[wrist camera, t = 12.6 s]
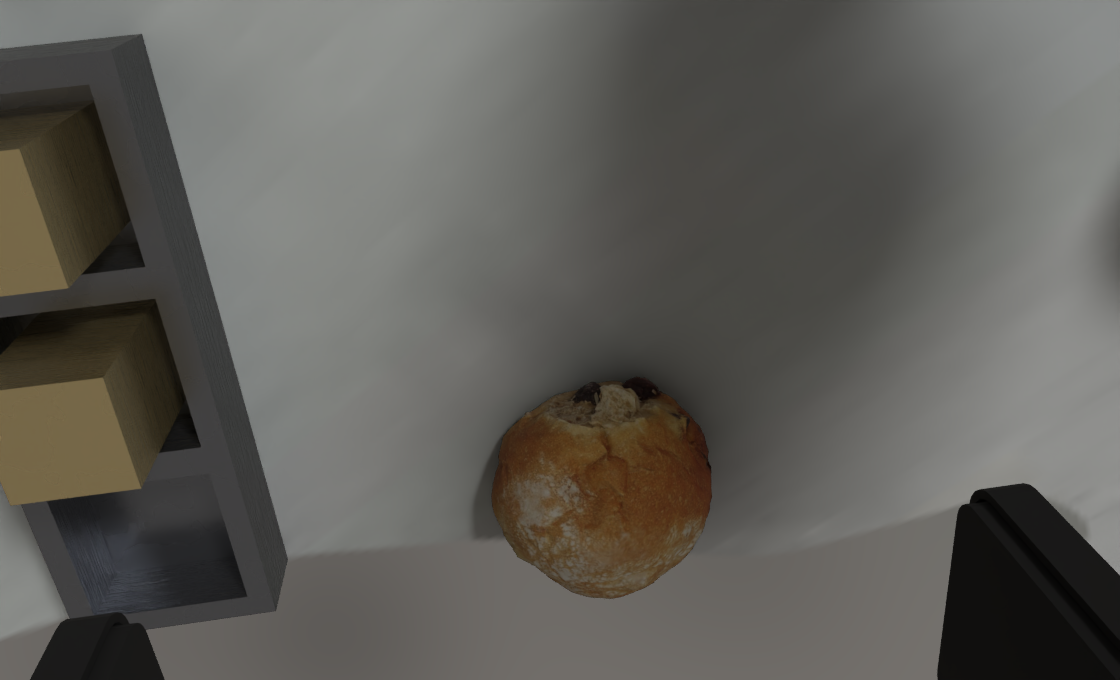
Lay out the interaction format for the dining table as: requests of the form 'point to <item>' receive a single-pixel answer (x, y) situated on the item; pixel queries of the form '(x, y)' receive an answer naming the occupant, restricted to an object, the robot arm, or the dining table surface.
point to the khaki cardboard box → (55, 196)
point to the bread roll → (604, 487)
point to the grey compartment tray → (202, 362)
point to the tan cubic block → (86, 402)
